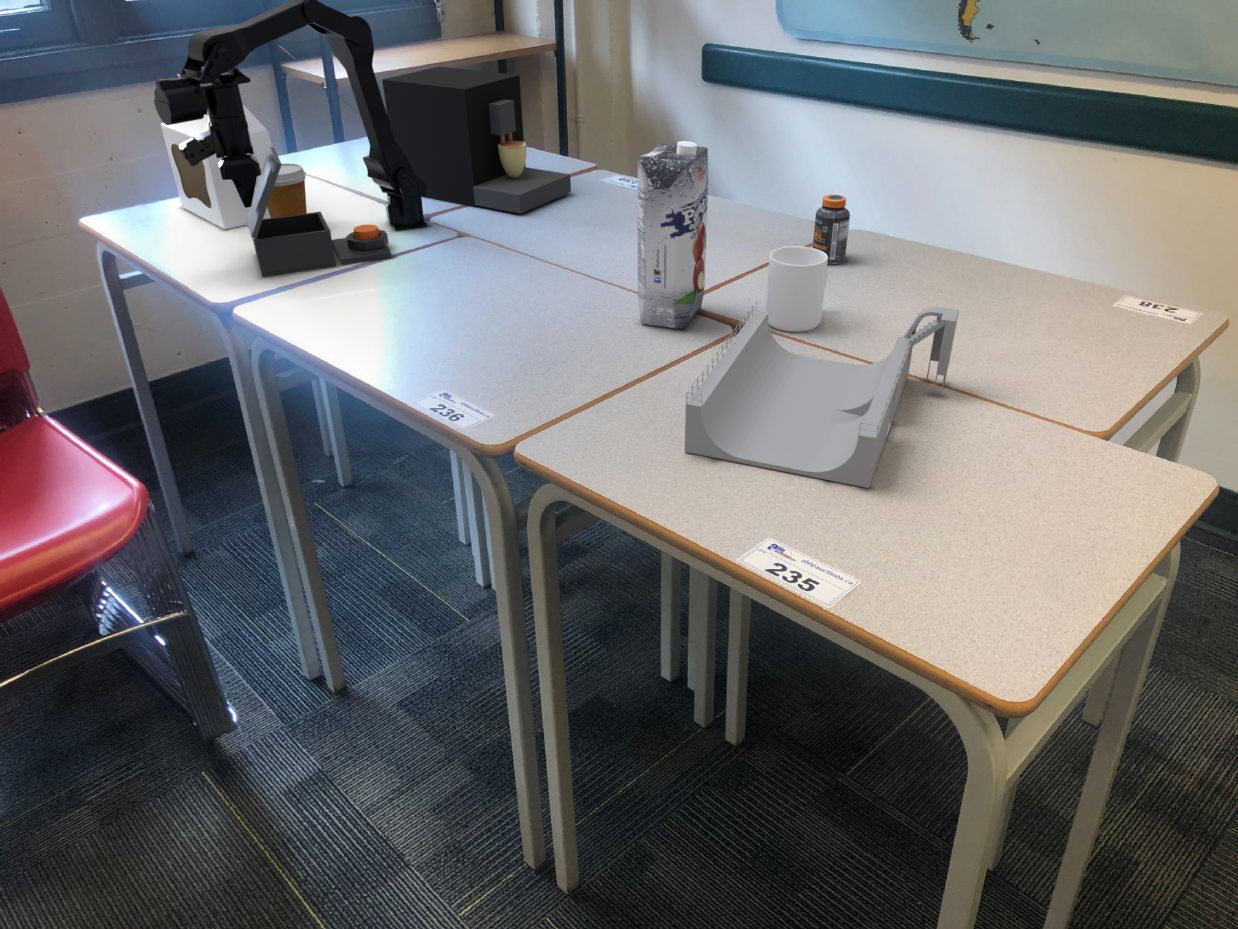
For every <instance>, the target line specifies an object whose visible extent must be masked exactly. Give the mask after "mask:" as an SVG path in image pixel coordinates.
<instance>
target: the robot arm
mask: <svg viewBox="0 0 1238 929" xmlns="http://www.w3.org/2000/svg"><path fill="white" fill-rule="evenodd" d="M304 27H309V29H312V31H314V32H316V33H318V34H321V35H322V36H324V37H325V40H326V41H327V43H328V46H329V47H330V48H329V49H330V50H331V52H332V54H333V55H334V57H335V58H336V59H337V60H338V63H340V64H341V66H342V67H343V68H344V70H345V72H346V75H347V78H348V81H349V84H350V87H351V90H352V94H353V96H354V100H355V102H356V106H357V109H358V112H359V116H360V118H361V122H362V125H363V128H364V131H365V134H366V138H367V140H368V143H369V152H368V155H366V156H362V160H363V163H364V165H365V167H366V171H367V177H368V178H370V179H371V180H372V182H373V183H374V184H375V185H377V186H378V187H379V189H380V191H381V193H383V194H386V199H387V201H385V203H384V205H385V212H386V219H387V223H388V224H389V226H391V227H392V229H393V230H394V231H402V230H403V231H404V230H411V229H418V228H425V227H427V226H428V223H427V222H426V221H425V217H424V216H425V215H424V208H423V199H422V198H423V197H422V196H425V195H426V189H427V185H426V184H425V183H424V182H423V181H422V180H420V179H419V178H418V177H417V176H415V175H414V172H413V169H412V167H411V165H410V163H409V161H408V158H407V156H406V155H405V154H404V152H403V151H402V150H401V148H400V147H399V146H398V145H397V143H396V142H395V139H394V136H393V133H392V129H391V126H390V123H389V120H388V116H387V111H386V105H385V103H384V100H383V97H382V94H381V90H380V86H379V82H378V80H377V78H376V73H375V70H374V67H373V61H374V54H375V43H374V36H373V31H372V27H371V26H370V23H369V22H368V21H367V20H366V19H365V18H363V17H361V16H359V15H352V14H347V13H344V12H342V11H339V10H337V9H335V8H332V7H330V6H328V5H326V4H325V3H322V2H321V1H319V0H290V1H287V2H286V3H283V4H281V5H278V6H276V7H274V8H272V9H269V10H268V11H267V10H266V11H265V12H262V13H261V14H258V15H256V16H254V17H252V18H250V19H247V20H245V21H242V22H240V23H238V24H235V25H229V26H222V27H216V28H209V29H206V30H201V31H197V32H195V33H193V34H192V35H191V36H190V37H189V39H188V44H187V52H188V53H187V56H186V59H185V61H184V63H183V66H182V68H181V71H180V73H179V74H180V77H179V76H178V77H172V78H157V79H154V85H155V89H154V93H153V94H154V97H153V98H154V99H153V105H154V106H155V110H156V112H157V114H158V117H159V118H160V120H161V122H164V123H165V124H166V125H172V124H178V123H183V122H189V121H194V120H200V119H203V117H204V114H207V111H208V116H209V120H210V122H208V124H209V128H210V130H208V131H206V132H204V133H201V134H199V135H197V136H195V137H193V138H191V139H189V140H187V141H185V142H183V143H181V144H180V145H179V149H180V151H181V153H182V154H183V156H184V158H185V159H186V160H187V161H188V163H189V164H190V166H191V167H192V166H195V165H197V164H199V162H200V161H202V160H204V159H206V158H208V157H210V156H212V155H214V154H215V153H216V157H217V158H221V157H222V159H221V161H220V162H219V163H218V164H219V168H220V172H221V176H222V180H230V179H231V180H232V181H233V183H234V185H235V187H236V189H237V191H238V194H239V196H240V198H241V200H242V203H243V205H244V207H245V208H248V207H251V205H252V200H253V195H254V189H255V184H256V179H257V176H260V175H261V171H260V166H259V162H258V160H257V159H256V158H255V157H254V156H252V154H254V151H253V147H252V143H251V140H250V135H249V131H248V124H247V120H246V117H245V113H244V108H243V105H244V103H243V99H242V95H241V94H242V93H241V90H240V86H239V85H242V84H249V83H251V82H252V81H251V80H252V79H251V78H250V77H249V76H246V75H245V74H244V73H243V72H242V71H241V70H240V69H239V68H238V66H239V65H240V64H242V63H243V62H245V61H246V60H247V59H248V57H249V56H250V54H251V53H253V52H254V51H255V50H257V49H259V48H261V47H263V46H266V45H267V44H270V43H272V42H274V41H276V40H278V39H280V38H282V37H284V36H286V35H287V36H288V35H289V34H291V33H293V32H295V31H298V30H301V29H302V28H304Z"/></svg>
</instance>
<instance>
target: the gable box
mask: <svg viewBox="0 0 1238 929" xmlns="http://www.w3.org/2000/svg"><path fill="white" fill-rule="evenodd" d="M176 75H177V76H178V78H179V77H180V73H179V72H177V73H176ZM243 108H244V113H245V117H246V120H247V124H248V131H249V135H250V140H251V143H252V147H253V151H254V154H252V156H254V157H255V158H256V159H257V160H258V162H259V166H260V168H261V167H263V165H264V163H265V160H266V157H267V154H268V151H269V148H270V147H272V143H271V138H270V134H269V129H268V128H266V127H265V126H264V125H263V124H262V122H261V121H259V119H257V117H256V116H255V115H254V114H253V113H252V112H251V111H250V110H249V109H248V108H247V107H246V106H245V105H244V104H243ZM208 122H210V120H209V116H208V111H207V114H204V117H203V119H200V120H194V121H189V122H183V123H178V124H172V125H166V124H165V123H164V122H163V121H161V123H160V128H161V132H162V135H163V139H164V143H165V147H166V151H167V154H168V158H169V162H170V166H171V170H172V173H173V174H172V175H173V178H174V182H175V186H176V189H177V193H178V198H179V201H180V204H181V208H183V209H185V210H186V211H189V212H190V213H192V214H195V215H196V216H198V217H200V218H202V219H204V220H205V221H208V222H209V223H211V224H213V225H215V226H217V227H219V228H221V229H223V230H225V231H226V230H231V229H234V228H239V227H243V226H248V223H247V220H246V215H247V213H248V210H249V207H248V208H245V207H244V205H243V203H242V200H241V198H240V196H239V194H238V191H237V189H236V187H235V185H234V183H233V181H232V180H231V179H230V180H222V176H221V172H220V168H219V164H218V163H219V162H220V161H221V159H222V157H221V158H217V157H216V153H215V154H214V155H212V156H210V157H208V158H206V159H204V160H202V161H200V162H199V164H197V165H195V166H192V167H191V166H190V164H189V163H188V161H187V160H186V159H185V158H184V156H183V154H182V153H181V151H180V149H179V145H180V144H181V143H183V142H185V141H187V140H189V139H191V138H193V137H195V136H197V135H199V134H201V133H204V132H206V131H208V130H210V128H209V124H208ZM256 186H257V181H256V184H255V189H256ZM255 189H254V192H255ZM267 218H271V217H270V214H269V212H268V209H266V211H265V214H264V217H263V219H267Z"/></svg>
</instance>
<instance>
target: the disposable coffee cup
mask: <svg viewBox="0 0 1238 929" xmlns="http://www.w3.org/2000/svg"><path fill="white" fill-rule="evenodd" d="M281 164H282V165H281V168H280V171H279V174H278V177H277V180H276V183H275V185H274V188H273V191H272V194H271V197H270V200H269V203H268V206H267V209H268V212H269V214H270V217H271V218H274V217H282V216H290V215H298V214H306V213H308V212H307V211H308V210H307V196H306V176H307V172H306V171H304V168H303V166H302V165H301V164H297V163H281ZM262 168H263V167H261V168H260V171H262ZM259 177H260V176H257V179H256V181H257V183H258V180H259Z"/></svg>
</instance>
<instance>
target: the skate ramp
mask: <svg viewBox="0 0 1238 929" xmlns="http://www.w3.org/2000/svg"><path fill="white" fill-rule="evenodd" d="M757 304H758V301H757V299H756V300H755V302H753V304H752V305H751V307H750V308H749V310H748V311H747V312H746V314H745V315H744V316H743V317H742V319H740V321H739V323H737V325H736V327H735V328H734V329H733V331H732V332H730V334H729V335H728V337H727V338H726V340H725V341H724V342H723V343H722V345H721V346H720V348H719V349H718V350H717V352H715V354H714V356H713V357H712V358H711V360H710V361H708V363H707V364H706V366H705V367H704V369H703V370H702V371H701V372H700V374H699V375H698V376H697V378H696V379H695V381H694V382H693V383H692V384H691V385H690V387H689V389H688V390H687V391H686V392H685V419H684V420H685V421H684V422H685V423H684V453H687V454H688V453H690V454H694V455H700V456H704V457H708V458H713V459H719V460H723V461H724V460H725V461H730V462H735V463H740V464H745V465H750V466H755V467H760V468H765V469H770V470H774V471H779V472H780V471H781V472H784V473H789V474H790V473H791V474H796V475H800V476H805V477H809V478H810V477H811V478H815V479H821V480H825V481H831V482H835V483H841V484H846V485H851V486H855V487H861V488H866V489H870V488H871V487H870V486H871V484H872V481H873V478H874V475H875V472H876V469H877V467H878V464H879V461H880V458H881V455H882V452H883V449H884V447H885V444H886V441H887V438H888V435H889V432H890V429H891V427H892V424H893V421H894V418H895V415H896V412H897V409H898V406H899V404H900V401H901V398H902V395H903V393H904V389H905V386H906V384H907V381H908V378H909V373H910V366H911V360H912V354H913V349H914V346H915V345H917V344H919V343H921V342H922V341H923V340H924V339H926V338H928V337H929V336H931V335H933V339H932V343H931V350H930V356H929V362H928V367H927V374H926V379H925V381H926V382H928V378H929V374H930V369H931V368H930V367H931V362H932V361H933V362H937V367H936V373H935V380H934V384H933V385H934V386H933V391H932V396H934V395H935V391H936V390H935V389H936V387H937V386H936V385H937V380H938V376H943V379H942V384H941V385H942V386H941V390H940V397H942V396H943V390H944V385H946V379H947V373H948V369H949V366H950V362H951V355H952V350H953V345H954V340H955V335H956V329H957V323H958V317H959V313H960V309H957V308H950V307H941V306H927V307H925V308H923V309H922V310H920V312H919V313H918V314H917V316H916V317H915V318H914V320H913V321H912V323H911V324H910V325H909V327H908V329H907V330H906V331H905V333H904V334H903V336H897V338H896V340H895V342H894V346H893V347H892V350H891V352H890V353H889V354H888V355H887V356H885V357H884V358H882V359H881V360H878V361H876V362H874V363H868V364H855V363H849V362H841V361H835V360H830V359H822V358H818V357H817V358H816V357H810V356H805V355H798V354H796V353H793V352H791V351H789V350H787V349H785V348H784V347H783V346H782V345H780V343H779V342H778V341H777V340H776V338H775V337H774V335H773V333H772V330H771V328H770V327H771V326H770V325H769V322H768V316H769V312H766V311H763V310H757V309H756V308H757ZM754 305H755V306H754ZM750 310H751V311H750ZM746 315H747V317H746ZM932 316H933V317H936V319H933V320H932V322H931V321H930V322H929V321H928V323H927V325H923V327H922V328H919V329H918V327H919V324H920V323H921V321H922V320H923V319H924V318H926V317H932ZM746 320H747V321H746ZM742 321H743V322H742ZM738 326H739V328H738V329H737V327H738ZM741 327H742V328H741ZM917 329H918V331H917ZM737 332H738V333H737ZM733 333H734V334H733ZM729 337H730V339H729ZM725 343H726V345H725ZM729 343H730V344H729ZM728 344H729V345H728ZM724 345H725V346H724ZM720 350H721V351H720ZM724 350H725V351H724ZM719 352H720V353H719ZM715 356H716V358H715ZM719 357H720V358H719ZM712 360H713V361H712ZM711 362H712V363H711ZM710 363H711V364H710ZM709 364H710V366H709ZM706 368H707V370H706ZM705 370H706V371H705ZM704 371H705V373H704ZM706 374H707V375H706ZM701 375H702V376H701ZM705 375H706V376H705ZM700 376H701V378H700ZM704 376H705V377H704ZM699 378H700V379H699ZM700 382H701V383H700ZM695 383H696V385H695ZM699 383H700V384H699ZM695 388H696V389H695ZM690 390H691V391H690ZM694 390H695V391H694ZM690 395H691V396H690ZM689 396H690V397H689Z"/></svg>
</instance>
